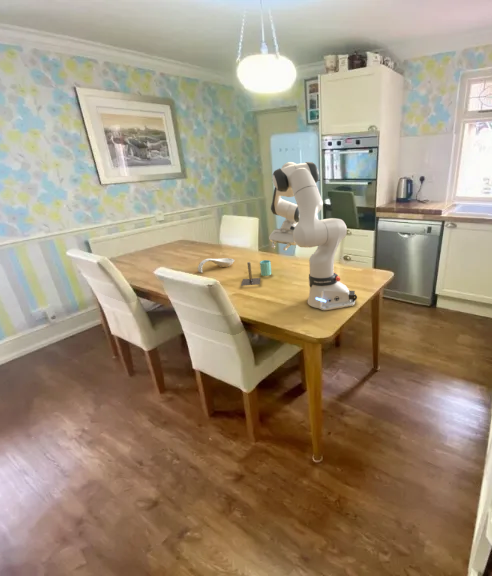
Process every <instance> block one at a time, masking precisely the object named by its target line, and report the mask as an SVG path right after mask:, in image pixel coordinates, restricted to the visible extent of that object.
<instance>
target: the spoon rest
mask: <svg viewBox="0 0 492 576" xmlns="http://www.w3.org/2000/svg"><path fill="white" fill-rule="evenodd" d="M208 262H211V263H214V264H215V265H217V266H218V267H220V268H229V267H230V266H232V265H233V264H234V262H235V259H234V258H229V257H223V258H205V259H203V260H201V261H200V262H199V264H198V266H197V272H199V273H200V274H201V273H202V274H203V266H204V265H205V264H206V263H208Z"/></svg>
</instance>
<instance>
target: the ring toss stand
mask: <svg viewBox="0 0 492 576" xmlns="http://www.w3.org/2000/svg"><path fill="white" fill-rule="evenodd" d="M247 270H248V271H247V272H248V278H242V280H241V284H240V286H256V285H258V286H259V285H261V279H262V278H261V277H253V274H252V273H253V272H252V263H251V262H250V261H249V262H247Z"/></svg>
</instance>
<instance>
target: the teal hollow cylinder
mask: <svg viewBox="0 0 492 576" xmlns="http://www.w3.org/2000/svg"><path fill="white" fill-rule="evenodd" d="M259 268H260V276H264V277H267V276H271V275H272V273H273V272H272V264H271V260H268V259H263V260H260V261H259Z"/></svg>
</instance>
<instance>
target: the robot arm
mask: <svg viewBox="0 0 492 576" xmlns="http://www.w3.org/2000/svg"><path fill="white" fill-rule="evenodd" d="M319 179H320V172H319V169H318V167H317V165H316V163H315V162H313V161H305V162H301V163H296V162H293V161H288V162H285V163H283V165H282V166H281V168H280V167H279V168H277V169H275V170H274V171H273V172H272V184H273V186H274V189H273V193H272V201H271V204H270V212H271V213H272V214H273V215H275V216H279V217H282V218H284V220H283V222H282V224H281V226H280V228H278V227H277V228H275V229H273V230H272V232H271V233H270V235H269V236H268V240H269V241H270V242H271V246H270V248H272V249H275V248H276V244H281V245H285V246H283V248H282V249H283V251H288V249H289V248H290V247H291V246H298V247H299V248H307V249H308V248H309V249H311V248H315V247H317V248H316V250H315V251H314V252H313V253H312V254H311V255H310V256H309V260H308V262H309V266H308V267H309V273H308V286H309V293H308V298H307V305H309V306H310V307H312V308H314V309H319V310H321V311H330V310H331V311H332V310H335V309H337V310H338V309H342V308H349V307H353V306H355V304H356V300H357V299H358V296H357V294H356V292H355V291H356V290H349V287H347V285H346V284H344V283H343V282H341V277H340V276H339V275H338V274H337V273H336V272H335V256H336V252H337V250H338V248H339V246H340V244H341V242H343V240H345V238H346V236H347V233H348V232H347V231H348V227H347V225H346V223H345V221H344V220H343V219H341V218H335V217H329V218H324V219H319V217H318V214H319V213H320V211H322V209H323V205H324V201H323V198H322V196H321V193H320V190H319V188H318V185H317V183H318V181H319ZM282 197H286V198H293V197H294V199H295V200H294V201H295V202H296V203H294V202H291V201H288V200H286V199H283V198H282Z"/></svg>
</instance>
